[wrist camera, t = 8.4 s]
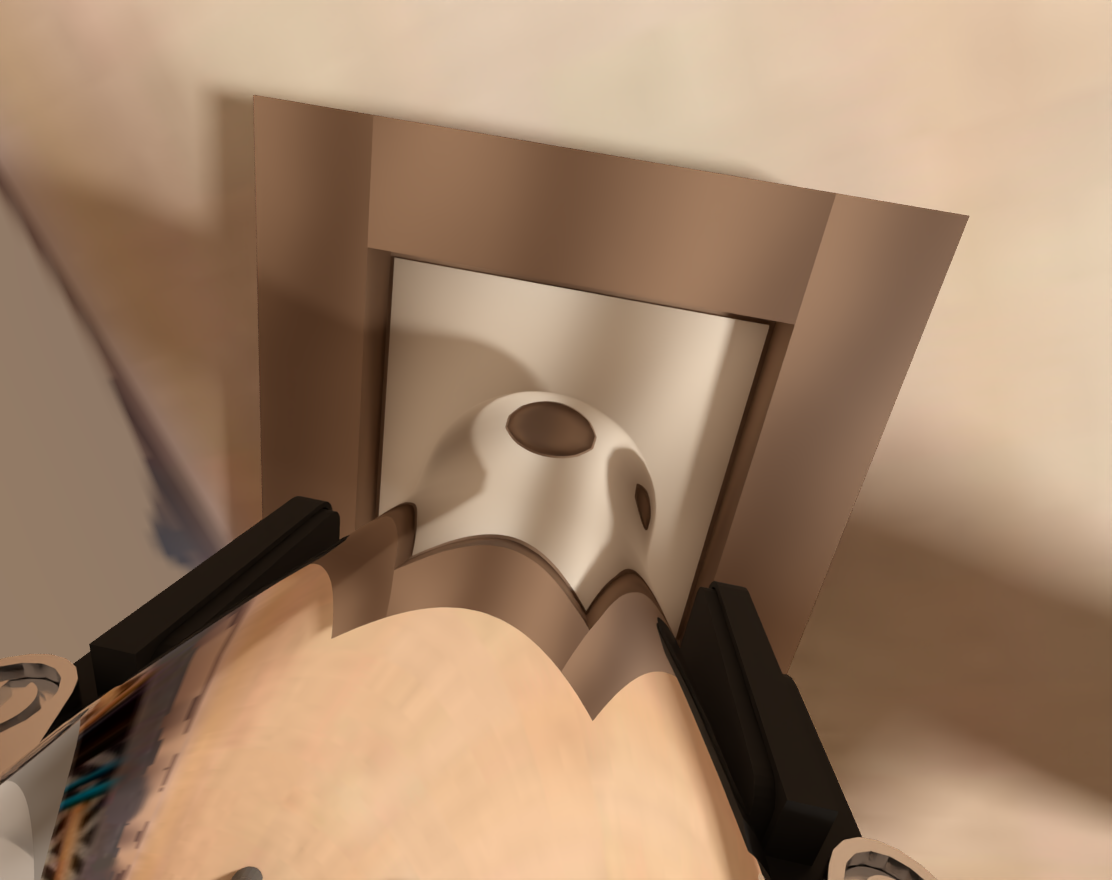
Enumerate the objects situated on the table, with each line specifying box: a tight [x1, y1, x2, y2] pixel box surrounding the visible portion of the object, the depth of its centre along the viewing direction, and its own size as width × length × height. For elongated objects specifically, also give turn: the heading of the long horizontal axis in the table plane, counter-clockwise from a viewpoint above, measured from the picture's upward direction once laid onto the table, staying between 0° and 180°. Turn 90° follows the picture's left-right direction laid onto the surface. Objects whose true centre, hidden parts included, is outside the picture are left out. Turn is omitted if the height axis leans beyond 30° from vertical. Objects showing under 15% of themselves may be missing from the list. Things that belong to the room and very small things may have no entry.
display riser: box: [253, 95, 969, 674], centre depth 17 cm, size 17×17×4 cm
